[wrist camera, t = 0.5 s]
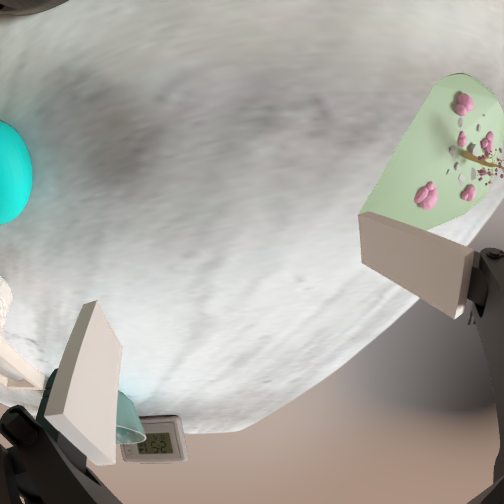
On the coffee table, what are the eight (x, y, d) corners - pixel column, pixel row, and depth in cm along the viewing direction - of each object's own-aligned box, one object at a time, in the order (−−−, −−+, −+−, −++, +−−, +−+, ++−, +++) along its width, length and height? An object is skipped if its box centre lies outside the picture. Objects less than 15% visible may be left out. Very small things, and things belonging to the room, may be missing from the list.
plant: (403, 271, 36) (437, 318, 29) (320, 183, 26) (368, 239, 19) (507, 160, 27) (549, 191, 20) (466, 39, 16) (531, 55, 10)
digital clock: (182, 413, 52) (187, 458, 44) (187, 425, 58) (191, 465, 49) (111, 412, 49) (110, 456, 41) (122, 424, 54) (123, 463, 46)
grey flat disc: (-23, 349, 29) (-24, 353, 29) (0, 346, 30) (-2, 351, 29) (7, 376, 35) (6, 380, 34) (33, 375, 35) (32, 380, 35)
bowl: (159, 407, 49) (161, 444, 42) (97, 411, 48) (96, 444, 42) (117, 372, 39) (115, 419, 32) (51, 378, 38) (45, 417, 32)
